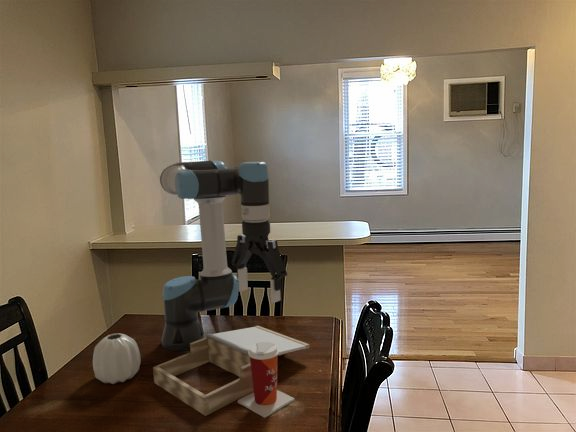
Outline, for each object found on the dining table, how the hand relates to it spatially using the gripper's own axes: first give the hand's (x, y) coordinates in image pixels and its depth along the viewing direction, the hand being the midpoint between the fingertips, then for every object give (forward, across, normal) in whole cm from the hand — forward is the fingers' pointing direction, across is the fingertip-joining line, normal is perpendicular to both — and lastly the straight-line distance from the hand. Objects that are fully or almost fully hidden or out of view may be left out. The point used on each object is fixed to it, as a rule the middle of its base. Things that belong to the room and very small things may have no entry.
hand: (259, 295), depth 128 cm
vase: (+29, -40, -25) cm, 55 cm away
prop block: (+29, -15, +20) cm, 38 cm away
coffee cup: (+28, +5, -3) cm, 28 cm away
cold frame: (+29, -15, -8) cm, 33 cm away
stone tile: (+28, +5, -3) cm, 29 cm away
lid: (+25, -15, +12) cm, 31 cm away
